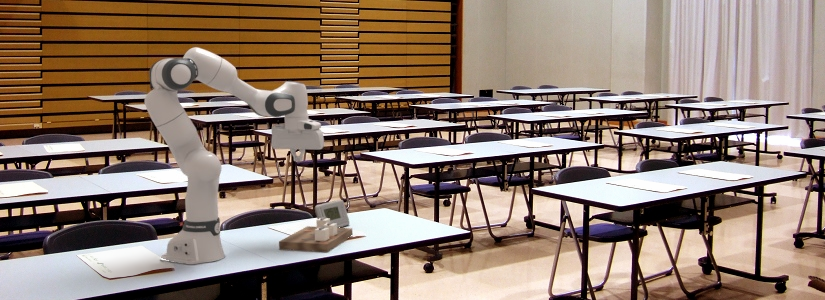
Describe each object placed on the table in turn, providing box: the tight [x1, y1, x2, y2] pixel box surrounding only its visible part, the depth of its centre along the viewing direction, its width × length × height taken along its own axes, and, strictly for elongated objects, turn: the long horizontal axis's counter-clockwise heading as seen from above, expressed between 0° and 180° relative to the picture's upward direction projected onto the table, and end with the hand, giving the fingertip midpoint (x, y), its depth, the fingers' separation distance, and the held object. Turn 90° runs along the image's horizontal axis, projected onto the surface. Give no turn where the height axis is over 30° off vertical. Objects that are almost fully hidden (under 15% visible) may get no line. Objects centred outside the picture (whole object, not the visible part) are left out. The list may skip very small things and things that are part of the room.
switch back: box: [316, 217, 330, 228], centre depth 327 cm, size 4×4×5 cm
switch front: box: [315, 226, 329, 241], centre depth 310 cm, size 4×4×5 cm
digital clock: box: [314, 199, 350, 228], centre depth 344 cm, size 16×9×11 cm, turn 130°
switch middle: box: [323, 222, 337, 236], centre depth 317 cm, size 4×4×5 cm
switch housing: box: [278, 225, 354, 253], centre depth 319 cm, size 19×26×3 cm
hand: (298, 160), depth 317 cm, fingers closed
